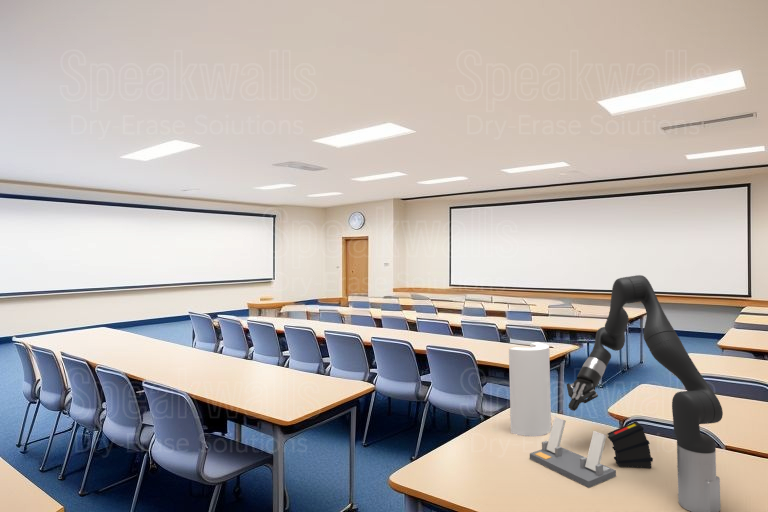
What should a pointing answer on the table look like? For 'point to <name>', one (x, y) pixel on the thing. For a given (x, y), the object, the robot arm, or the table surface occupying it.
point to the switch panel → (572, 465)
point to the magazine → (631, 446)
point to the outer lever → (556, 434)
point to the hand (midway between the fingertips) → (571, 409)
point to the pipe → (530, 390)
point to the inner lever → (595, 450)
